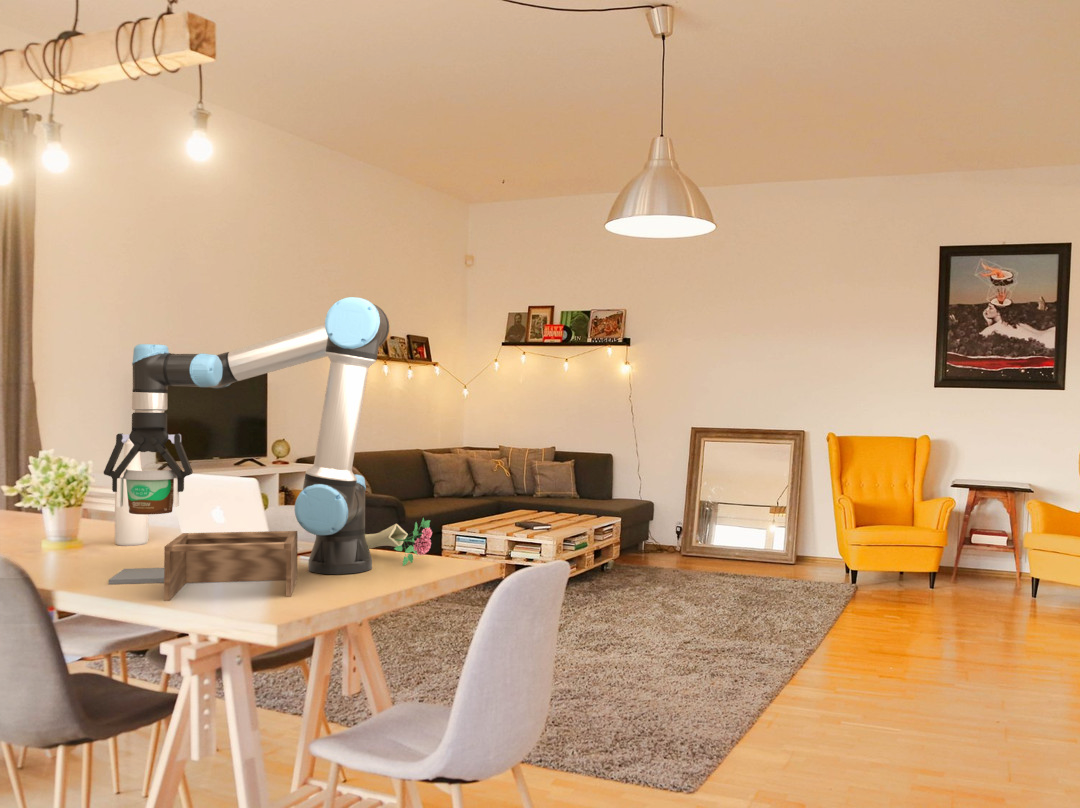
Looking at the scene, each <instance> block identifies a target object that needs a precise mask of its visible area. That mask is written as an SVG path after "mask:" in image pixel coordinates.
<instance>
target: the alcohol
mask: <svg viewBox="0 0 1080 808" xmlns="http://www.w3.org/2000/svg"><path fill="white" fill-rule="evenodd" d="M133 446H134V444H133V443H132V442H131V440H130V439H128V440H127V442H126V443H124V453H123V455H124V456H123V459H124V458H125V457H126V456H127V454H128V453H129V452H130V450H131V449H132V447H133ZM141 461H142V460H141V452H140V451H139V452H138V453H137V454H136V456H135V457H134V458H133V459H132V461H131V462H130V463H129V465H128V466H127V467H126V469H127V470H134V471H143V469H142V464H141V463H142V462H141ZM126 469H125V470H124V471H123V473H122V474H121V475H120V478H123V476H124V472H125V471H126ZM149 517H150V514H146V515H145V514H131V513H129V506H128V495H127V484H126V479H124V484H123V506H121V507H117V492H114V543H115V544H116V545H117V546H121V547H126V546H127V547H130V546H132V547H133V546H143V545H146V544H147V543H148V541H149V540H150V539H149V533H150V532H149V530H150V529H149V525H150V523H149V521H150V519H149Z"/></svg>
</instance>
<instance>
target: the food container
mask: <svg viewBox="0 0 1080 808" xmlns="http://www.w3.org/2000/svg"><path fill="white" fill-rule="evenodd" d="M174 478H177V475H176V474H175V473H174V471H173V470H172V469H167V470H165V469H164V470H142V471H134V470H127V469H126V471H125V472H124V476H123V479H126V484H127V495H128V506H129V513H131V514H145V515H146V514H149V515H164V514H170V513H172V512H173V508H174V507H173V497H174Z"/></svg>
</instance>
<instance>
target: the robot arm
mask: <svg viewBox="0 0 1080 808" xmlns="http://www.w3.org/2000/svg"><path fill="white" fill-rule="evenodd" d="M389 333H390V321H389V318H388V316H387V314H386V313H385V312H384V310H383V309H382V308H381V307H379V306H378V305H376V304H374V303H372V302H371V301H370V300H368V299H365V298H362V297H354V296H351V297H350V296H349V297H345V298H341V299H340V300H338V301H336V302H334V303H333V304H332V305H331V306H330V308H329V309H328V311H327V313H326V315H325V320H324V324H322V325H319V326H315V327H312V328H308V329H305V330H302V331H297V332H293V333H291V334H287V335H283V336H279V337H276V338H272V339H268V340H266V341H262V342H258V343H255V344H251V345H248V346H244V347H241V348H238V349H237V348H236V349H234V350H233V349H232V350H230V351H227V352H223V353H220V354H219V353H218V354H210V353H172V352H170V351H169V347H168V346H167V345H165V344H154V343H153V344H150V343H149V344H148V343H142V344H141V343H140V344H136V345H135V346H134V348H133V351H132V352H133V356H132V363H131V366H132V392H131V393H132V396H131V409H132V411H134V412H132V414H131V431H130V434H127V433H122V432H121V433H117V434H116V437H115V445H114V447H113V449H112V452H111V453H110V456H109V459H108V461H107V464H106V465H105V469H104V470H103V475H104V476H108V477H111V479H112V483H111V486H112V488H111V490H112V493H115V492H117V507H121V506H123V484H124V479H123V478H120V475H121V474H122V473H123V471H124V470H125V469H126V467H127V466H128V465H129V463H130V462H131V461H132V459H133V458H134V457H135V456H136V454H137V453H138V452H139V451H140V453H146V452H150V453H157V452H159V454H160V455H161V456H162V458H163V459H164V460H165V462H166V463H167V465H168V466H169V467H170V469H171V470H173V471H174V473H175V474H176V475H177V478H174V497H173V508H176V507H179V506H180V493H182V492H184V491H185V477H187V476H188V477H189V476H190V475H192V474H193V473H194V472H193V469H192V465H191V463H190V460H189V458H188V456H187V453H186V451H185V449H184V446H183V442H182V441H183V440H182V439H183V438H182V434H180V433H176V434H169V432H168V414H167V413H166V412H165V411H167V410H168V392H169V391H168V388H169V387H191V388H192V387H194V388H195V387H196V388H197V387H199V388H212V389H222V388H226V387H229V386H230V385H231V384H233V383H237V382H240V381H244V380H248V379H251V378H254V377H258V376H261V375H265V374H268V373H272V372H277V371H280V370H284V369H287V368H291V367H294V366H297V365H301V364H304V363H308V362H312V361H315V360H319V359H322V358H326V357H327V358H328V359H329V361H330V365H329V370H328V377H327V383H326V390H325V394H324V401H323V406H322V412H321V419H320V425H319V431H318V436H317V437H318V438H317V442H316V450H315V455H314V462H313V464H312V466H311V467H310V468H308V469H307V470H305V473H304V475H305V476H304V480H303V484H302V485H303V486H302V490H301V491H300V492H299V494H298V495H297V497H296V499H295V503H294V516H295V518H296V521H297V523H298V524H299V526H300V527H301V528H303V530H304V531H306V532H307V533H309V534H312V535H314V536H315V539H314V540H315V541H314V543H313V546H312V550H311V553H310V555H309V558H308V562H307V563H308V571H309V572H311V573H315V574H321V575H322V574H323V575H346V574H347V575H348V574H356V573H357V574H359V573H364V572H368V571H370V570H372V568H373V558H372V556H371V551H370V549H369V548H368V545H367V542H366V539H365V534H366V490H367V486H366V479H365V476H364V475H361V474H354V472H353V464H354V458H355V451H356V445H357V439H358V434H359V428H360V422H361V415H362V409H363V402H364V398H365V391H366V385H367V379H368V378H367V377H368V374H369V373H368V372H369V368H370V367H371V366H372V365H374V364H375V363H376V362H377V361H378V360H377V359H378V355H379V354H378V353H379V348H380V347H382V345H383V344H384V343H385V342H386V341H387V338H388V336H389ZM128 439H130V440H131V442H132V443H133V444H134V446H133V447H132V449H131V450H130V452H129V453H128V454H127V456H126V457H125V458H124V457H123V460H122V461H121V462H120V463H119V465H118V466H117V468H116V469H115V467H116V464H117V461H118V460H119V457H120V454H121V453H122V450H123V448H124V446H125V443H126V442H127V440H128ZM169 440H170V441H171V444H173V445H174V447H175V451H176V453H177V455H178V458H179V460H180V462H181V466H182V468H183V470H184V471H183V470H182V468H181V467H180V465H179V464H178V463H177V461H176V460H175V459H174V457H173V456H172V455H171V453H170V451H169V449H168V448H167V447H166V446H165V444H167V442H168V441H169ZM114 469H115V470H114Z"/></svg>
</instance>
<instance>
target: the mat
mask: <svg viewBox="0 0 1080 808" xmlns="http://www.w3.org/2000/svg"><path fill="white" fill-rule="evenodd" d="M107 582H108V585H124V584H125V585H127V584H129V585H130V584H133V585H134V584H160V583H161V584H163V583H164V567H147V568H145V567H141V568H137V567H135V568H123V569H121V570H120V571H119V572H117V573H116V574H115V575H113V576H112V577H111V578H109V579H108V581H107Z"/></svg>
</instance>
